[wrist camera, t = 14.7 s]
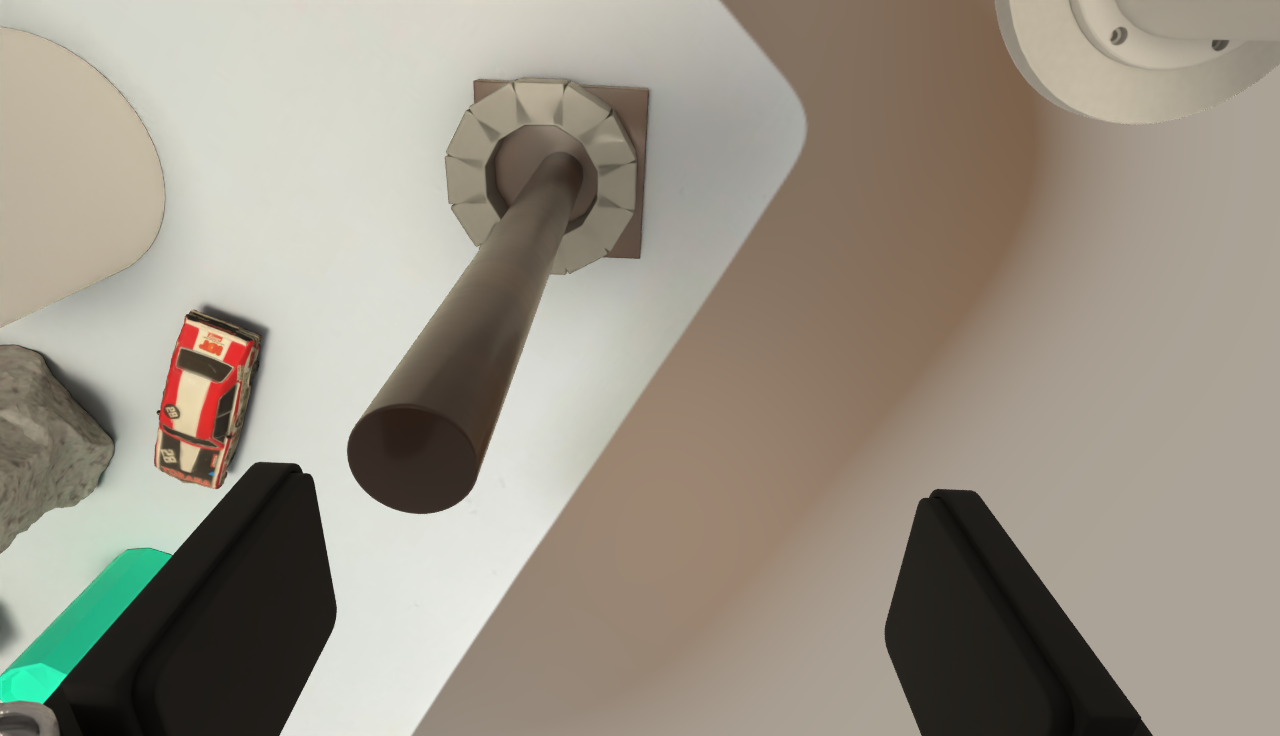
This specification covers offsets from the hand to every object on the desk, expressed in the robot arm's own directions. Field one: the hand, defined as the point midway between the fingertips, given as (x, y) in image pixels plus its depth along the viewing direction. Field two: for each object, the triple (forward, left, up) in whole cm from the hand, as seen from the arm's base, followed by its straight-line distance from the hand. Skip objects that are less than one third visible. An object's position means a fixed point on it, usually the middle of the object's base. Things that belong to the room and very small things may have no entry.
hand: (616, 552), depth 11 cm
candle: (+34, +31, -32) cm, 56 cm away
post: (+4, 0, -31) cm, 32 cm away
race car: (+26, +15, -32) cm, 43 cm away
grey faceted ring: (+5, 0, -30) cm, 31 cm away
